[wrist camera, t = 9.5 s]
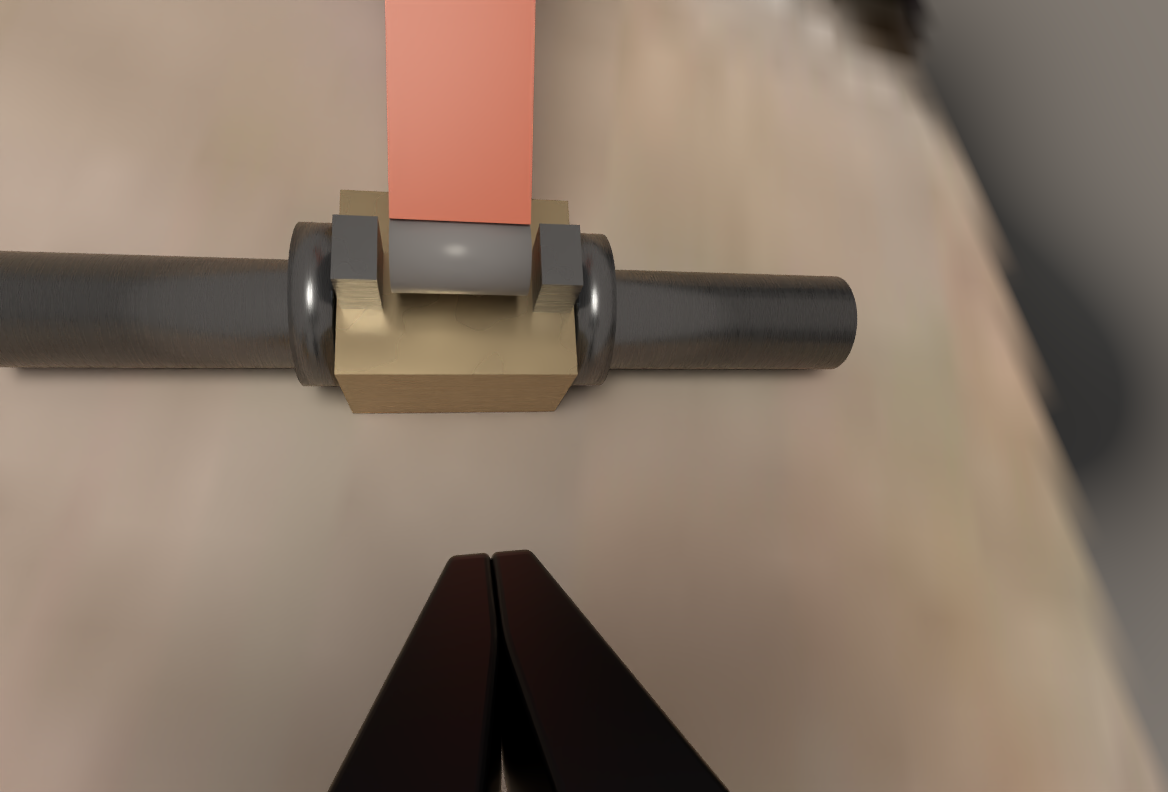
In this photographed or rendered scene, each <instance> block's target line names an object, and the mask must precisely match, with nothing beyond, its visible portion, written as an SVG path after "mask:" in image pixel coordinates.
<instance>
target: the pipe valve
mask: <svg viewBox="0 0 1168 792" xmlns="http://www.w3.org/2000/svg"><path fill="white" fill-rule="evenodd" d="M389 220H390V218H389V192H375V191H355V190H340V215H333V218H332V223H315V222H298V223H297V224H296V226H295V228H294V231H293V234H292V238H291V244H290V250H289V260H281V259H249V258H216V257H184V256H151V255H119V254H86V253H54V252H21V251H0V367H109V368H295V371H296V374H297V377H298V379H299V381H300V383H301V384H302V385H303V386H340V387H341V389H342V391H343V393H344V395H345V397H346V400H347V402H348V404H349V406H350V408H351V410H352V412H353V413H433V412H536V411H555V409H556V408H557V406H558V405H559V403H560V401H561V400H562V398H563V397H564V395H565V394H566V392H567V390H568V389H569V387H570V386H571V385H601V384H602V383H603V382H604V381H605V379H606V377H607V374H608V371H609V369H834V368H837V367H838V366H840V365H841V364H842V363H843V362H844V361H845V360H846V358H847V357H848V355H849V353H850V351H851V349H852V346H853V343H854V339H855V335H856V328H857V309H856V303H855V299H854V295H853V293H852V290H851V289H850V287H849V285H848V284H847V283H846V282H845V281H844V280H843V279H842V278H840V277H834V276H803V275H770V274H737V273H705V272H672V271H640V270H615V266H614V259H613V254H612V250H611V246H610V244H609V241H608V239H607V237H606V236H605V235H603V234H585V233H580V225H569V213H568V201H556V200H536V199H531V224H530V228H531V240H532V266H531V280H530V288H529V292H528V295H527V296H516V295H471V294H427V293H392V292H391V286H390V271H389Z"/></svg>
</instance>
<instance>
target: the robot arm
mask: <svg viewBox="0 0 1168 792" xmlns="http://www.w3.org/2000/svg"><path fill="white" fill-rule="evenodd" d="M501 750H502V760H503V769H504V776H505V782H506V788H507V792H729V790H728V789H727V788H726V786H725V785H724V784H723V783H722V782H721V780H720V779H719V778H718V777H717V775H716V774H715V773H714V772H713V771H712V769H711V768H710V767H709V766H708V765H707V763H706V762H705V761H704V760H703V759H702V757H701V756H700V755H699V754H698V752H697V751H696V750H695V749H694V748H693V746H692V745H691V744H690V743H689V742H688V740H687V739H686V738H685V737H684V736H683V734H682V733H681V732H680V731H679V729H678V728H677V727H676V726H675V725H674V723H673V722H672V721H671V720H670V719H669V717H668V716H667V715H666V714H665V712H664V711H663V710H662V709H661V708H660V706H659V705H658V704H657V703H656V702H655V700H654V699H653V698H652V697H651V696H650V694H649V693H648V692H647V691H646V689H645V688H644V687H643V686H642V685H641V683H640V682H639V681H638V680H637V679H636V677H635V676H634V675H633V674H632V673H631V671H630V670H629V669H628V668H627V666H626V665H625V664H624V663H623V662H622V660H621V659H620V658H619V657H618V656H617V654H616V653H615V652H614V651H613V649H612V648H611V647H610V646H609V645H608V643H607V642H606V641H605V640H604V639H603V637H602V636H601V635H600V634H599V633H598V631H597V630H596V629H595V628H594V626H593V625H592V624H591V623H590V622H589V620H588V619H587V618H586V617H585V616H584V614H583V613H582V612H581V611H580V610H579V608H578V607H577V606H576V605H575V603H574V602H573V601H572V600H571V599H570V597H569V596H568V595H567V594H566V593H565V591H564V590H563V589H562V588H561V587H560V585H559V584H558V583H557V582H556V580H555V579H554V578H553V577H552V576H551V574H550V573H549V572H548V571H547V570H546V568H545V567H544V566H543V565H542V563H541V562H540V561H539V560H538V559H537V557H536V556H535V555H534V554H533V553H532V552H531V551H529V550H515V551H503V552H496V553H494V554H493V556H492V558H491V559H490V557H489V555H487V554H486V553H479V554H467V555H456V556H453V557H451V558H450V559H449V561H448V562H447V564H446V566H445V567H444V569H443V571H442V573H441V575H440V577H439V579H438V581H437V583H436V585H435V587H434V589H433V590H432V592H431V594H430V596H429V598H428V600H427V602H426V604H425V606H424V608H423V610H422V612H421V613H420V615H419V617H418V619H417V621H416V623H415V625H414V627H413V629H412V631H411V633H410V634H409V636H408V638H407V640H406V642H405V644H404V646H403V648H402V650H401V652H400V654H399V656H398V657H397V659H396V661H395V663H394V665H393V667H392V669H391V671H390V673H389V675H388V677H387V679H386V680H385V682H384V684H383V686H382V688H381V690H380V692H379V694H378V696H377V698H376V700H375V702H374V703H373V705H372V707H371V709H370V711H369V713H368V715H367V717H366V719H365V721H364V723H363V724H362V726H361V728H360V730H359V732H358V734H357V736H356V738H355V740H354V742H353V744H352V746H351V747H350V749H349V751H348V753H347V755H346V757H345V759H344V761H343V763H342V765H341V767H340V769H339V770H338V772H337V774H336V776H335V778H334V780H333V782H332V784H331V786H330V788H329V790H328V791H327V792H501V778H502V762H501Z"/></svg>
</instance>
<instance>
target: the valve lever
mask: <svg viewBox="0 0 1168 792" xmlns="http://www.w3.org/2000/svg"><path fill="white" fill-rule="evenodd" d="M385 24H386V77H387V131H388V184H389V218H390V220H389V271H390V286H391V292H392V293H427V294H471V295H516V296H527V295H528V292H529V288H530V280H531V266H532V240H531V228H530V224H531V192H532V143H533V95H534V47H535V0H385Z"/></svg>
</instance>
